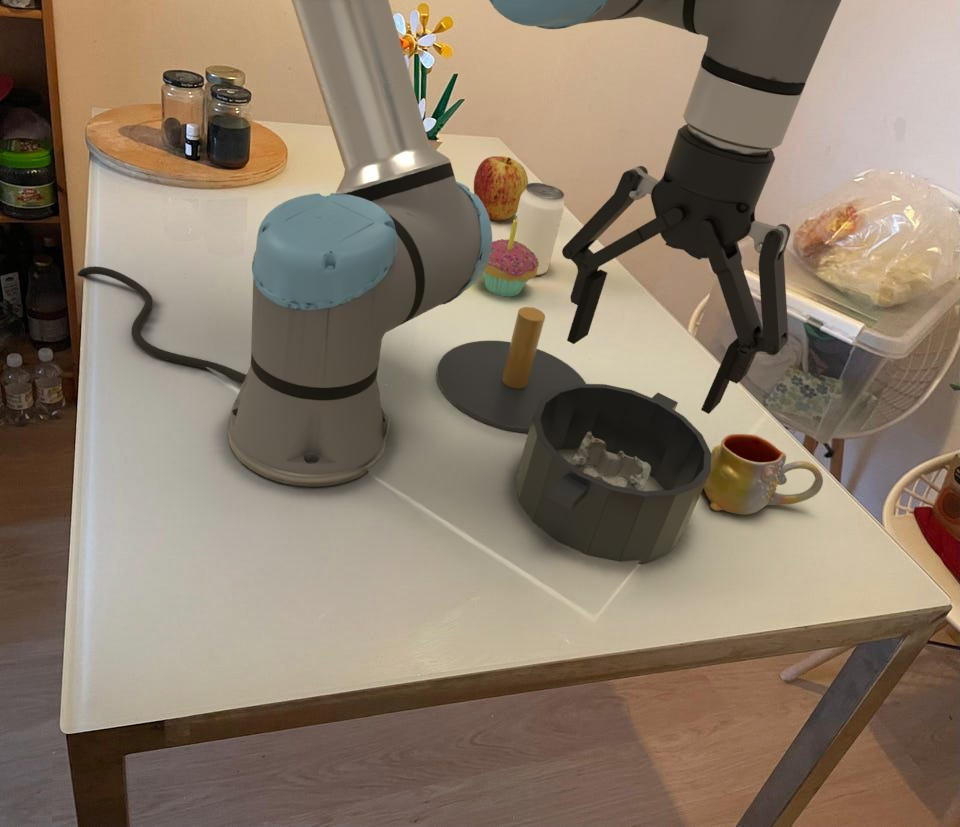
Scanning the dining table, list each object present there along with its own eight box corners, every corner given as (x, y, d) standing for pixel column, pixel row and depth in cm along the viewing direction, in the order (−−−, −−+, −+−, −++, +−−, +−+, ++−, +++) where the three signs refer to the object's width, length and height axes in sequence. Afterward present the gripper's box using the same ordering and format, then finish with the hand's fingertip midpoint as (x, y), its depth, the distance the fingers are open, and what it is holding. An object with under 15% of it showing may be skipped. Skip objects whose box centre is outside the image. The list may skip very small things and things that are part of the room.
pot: (465, 512, 79) (482, 441, 74) (579, 419, 95) (599, 356, 91) (623, 611, 72) (653, 540, 68) (716, 493, 89) (746, 429, 84)
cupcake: (525, 311, 114) (546, 229, 108) (465, 295, 115) (482, 213, 108) (534, 285, 121) (554, 207, 115) (477, 270, 122) (494, 191, 115)
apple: (468, 200, 144) (479, 142, 138) (520, 210, 144) (533, 153, 139) (467, 221, 136) (479, 161, 130) (522, 231, 137) (536, 172, 131)
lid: (403, 383, 95) (416, 303, 89) (492, 333, 108) (508, 261, 102) (536, 460, 88) (560, 378, 82) (614, 396, 101) (639, 322, 95)
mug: (701, 511, 86) (724, 460, 82) (694, 470, 92) (715, 420, 88) (815, 535, 86) (843, 486, 82) (801, 493, 92) (827, 445, 88)
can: (535, 281, 123) (554, 203, 116) (497, 264, 125) (514, 187, 118) (555, 268, 127) (574, 193, 121) (518, 253, 130) (536, 178, 123)
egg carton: (578, 457, 89) (588, 426, 86) (646, 484, 87) (658, 453, 85) (546, 514, 80) (556, 481, 78) (621, 545, 79) (633, 512, 76)
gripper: (903, 188, 61) (785, 420, 73) (608, 79, 71) (546, 300, 83) (881, 209, 56) (757, 456, 68) (564, 87, 65) (505, 323, 77)
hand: (641, 371), depth 75 cm, fingers open, 13 cm apart
